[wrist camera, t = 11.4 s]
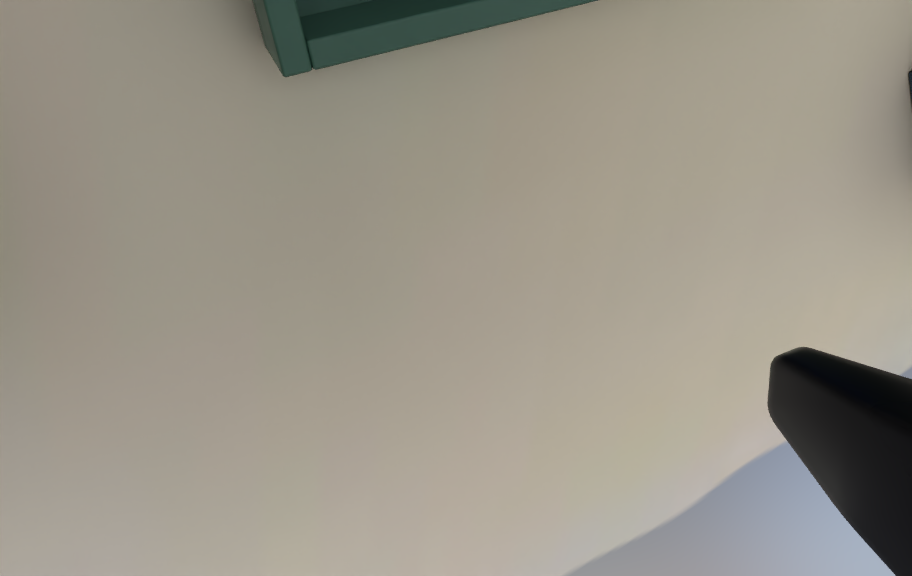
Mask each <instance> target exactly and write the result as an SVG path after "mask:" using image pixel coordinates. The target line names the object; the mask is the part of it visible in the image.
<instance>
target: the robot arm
mask: <svg viewBox="0 0 912 576" xmlns="http://www.w3.org/2000/svg"><path fill="white" fill-rule="evenodd" d="M768 410H769V413H770V416H771V418H772V420H773V422H774V423H775V425H776V426H777V428H778V429H779V430H780V432H781V433H782V434H783V436H784V437H785V438H786V440H787V441H788V443H789V444H790V445H791V447H792V448H793V449H794V451H795V452H796V453H797V455H798V456H799V457H800V459H801V460H802V461H803V463H804V464H805V466H806V467H807V468H808V470H809V471H810V472H811V474H812V475H813V476H814V478H815V479H816V480H817V482H818V483H819V485H820V486H821V487H822V489H823V490H824V491H825V493H826V494H827V495H828V497H829V498H830V500H831V501H832V502H833V504H834V505H835V506H836V507H837V509H838V510H839V511H840V512H841V514H842V515H843V516H844V518H845V519H846V520H847V521H848V522H849V524H850V525H851V526H852V527H853V528H854V529H855V531H856V532H857V533H858V534H859V535H860V536H861V537H862V538H863V539H864V541H865V542H866V543H867V544H868V545H869V546H870V547H871V548H872V549H873V551H874V552H875V553H876V554H877V555H878V556H879V557H880V558H881V560H882V561H883V562H884V563H885V564H886V565H887V566H888V567H889V568H890V569H891V571H892V572H893V573H894V574H895V575H896V576H912V379H909V378H906V377H902V376H899V375H896V374H893V373H889V372H886V371H883V370H880V369H877V368H873V367H870V366H867V365H864V364H860V363H857V362H854V361H851V360H848V359H844V358H841V357H838V356H835V355H831V354H828V353H825V352H822V351H818V350H815V349H812V348H808V347H798V348H795V349H793V350H790V351H788V352H785V353H783V354H780V355H778V356H776V357H775V358H774V359H773V361H772V363H771V367H770V378H769V390H768Z"/></svg>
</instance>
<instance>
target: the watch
mask: <svg viewBox="0 0 912 576" xmlns="http://www.w3.org/2000/svg"><path fill="white" fill-rule="evenodd" d="M909 80H910V89H911V99H912V71H911V72H910V73H909Z"/></svg>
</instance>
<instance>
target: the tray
mask: <svg viewBox="0 0 912 576" xmlns="http://www.w3.org/2000/svg"><path fill="white" fill-rule="evenodd" d="M594 1H598V0H253V4H254V8H255V11H256V15H257V19H258V22H259V26H260V30H261V33H262V37H263V40H264V44H265V47H266V49H267V50H268V52H269V53H270V55H271V57H272V58H273V60H274V62H275V63H276V65H277V67H278V68H279V70H280V72H281V73H282V75H283V76H284V77H289V76H293V75H297V74H301V73H305V72H309V71H311V70H312V68H313V69H315V70H317V69H321V68H325V67H329V66H333V65H337V64H341V63H346V62H350V61H354V60H358V59H362V58H366V57H370V56H374V55H378V54H382V53H386V52H390V51H394V50H398V49H402V48H407V47H411V46H415V45H419V44H423V43H427V42H431V41H435V40H439V39H443V38H447V37H451V36H455V35H459V34H463V33H467V32H472V31H476V30H480V29H484V28H488V27H492V26H496V25H500V24H504V23H508V22H512V21H516V20H520V19H524V18H528V17H533V16H537V15H541V14H545V13H549V12H553V11H557V10H561V9H565V8H569V7H573V6H577V5H581V4H585V3H589V2H594Z"/></svg>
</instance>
